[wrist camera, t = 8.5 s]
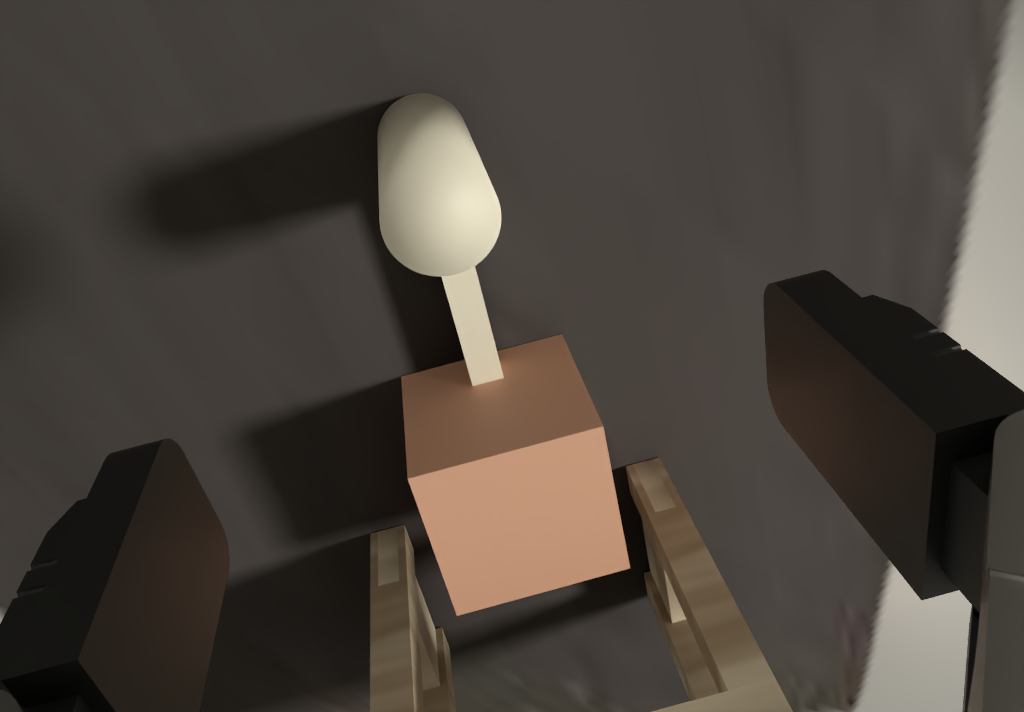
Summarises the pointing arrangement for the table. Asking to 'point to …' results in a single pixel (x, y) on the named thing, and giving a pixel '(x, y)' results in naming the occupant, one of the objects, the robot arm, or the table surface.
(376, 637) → the beige u-shaped block
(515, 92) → the table surface
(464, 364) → the cube base joystick
